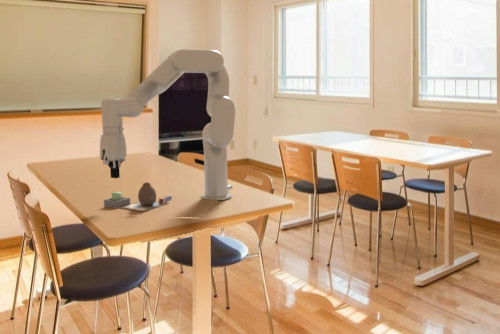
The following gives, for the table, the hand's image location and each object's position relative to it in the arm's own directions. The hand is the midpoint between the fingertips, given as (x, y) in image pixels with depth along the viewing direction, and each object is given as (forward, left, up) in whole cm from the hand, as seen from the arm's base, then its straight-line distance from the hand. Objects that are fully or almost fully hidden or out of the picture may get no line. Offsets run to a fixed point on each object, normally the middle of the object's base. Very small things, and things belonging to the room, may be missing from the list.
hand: (115, 177), depth 195 cm
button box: (0, 0, -12) cm, 12 cm away
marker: (-14, +13, -11) cm, 22 cm away
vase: (-4, +12, -11) cm, 17 cm away
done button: (0, 0, -10) cm, 10 cm away
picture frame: (-4, +11, -12) cm, 16 cm away
